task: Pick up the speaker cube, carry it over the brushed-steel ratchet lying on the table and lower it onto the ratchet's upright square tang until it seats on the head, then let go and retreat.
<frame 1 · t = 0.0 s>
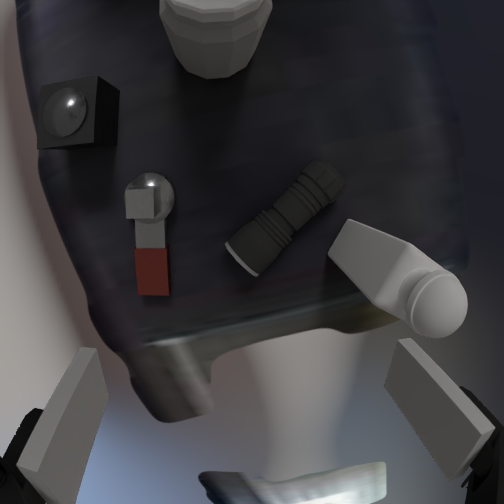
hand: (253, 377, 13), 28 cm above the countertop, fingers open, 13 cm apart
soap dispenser: (352, 245, 42), on the countertop
jar: (214, 46, 33), on the countertop
speaker cube: (92, 119, 33), on the countertop
flashlight: (281, 213, 40), on the countertop
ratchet: (151, 196, 37), on the countertop
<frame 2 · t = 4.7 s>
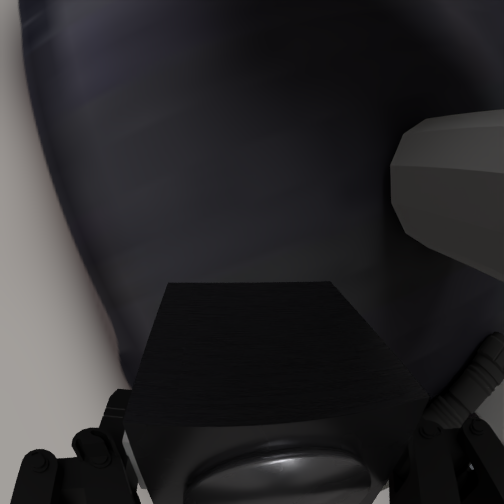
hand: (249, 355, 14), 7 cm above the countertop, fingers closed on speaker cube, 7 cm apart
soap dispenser: (490, 393, 30), on the countertop
jar: (431, 182, 21), on the countertop
speaker cube: (248, 352, 14), point 7 cm above the countertop, touching gripper
flashlight: (448, 386, 28), on the countertop
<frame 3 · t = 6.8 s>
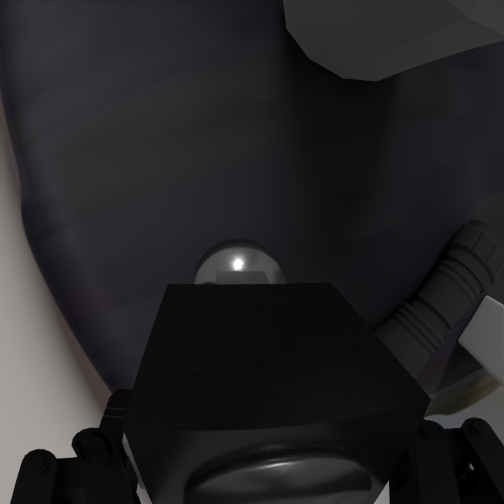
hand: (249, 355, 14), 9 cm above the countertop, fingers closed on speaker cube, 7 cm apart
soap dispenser: (480, 324, 27), on the countertop
jar: (344, 25, 18), on the countertop
speaker cube: (249, 353, 14), point 8 cm above the countertop, touching gripper
flashlight: (418, 296, 25), on the countertop
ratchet: (238, 281, 22), on the countertop
when the fingers open (2 cm above the countertop, at t = 9.2 s): speaker cube stays where it is, resting on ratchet.
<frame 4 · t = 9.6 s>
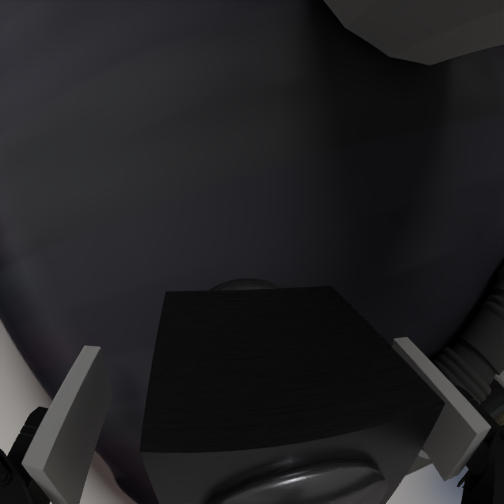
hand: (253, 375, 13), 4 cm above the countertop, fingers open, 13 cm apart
speaker cube: (249, 359, 14), point 2 cm above the countertop, touching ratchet
flashlight: (459, 334, 19), on the countertop
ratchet: (245, 333, 16), on the countertop
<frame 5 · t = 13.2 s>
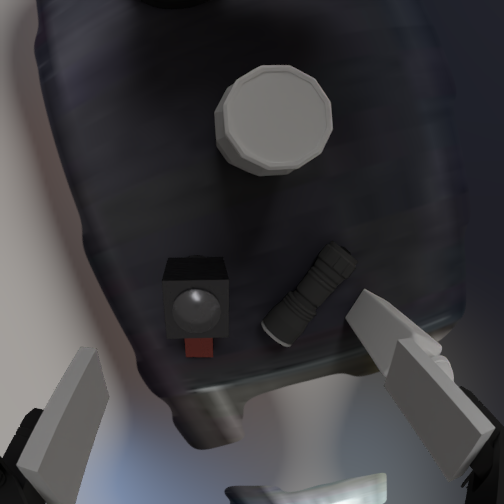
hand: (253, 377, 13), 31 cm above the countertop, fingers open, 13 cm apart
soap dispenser: (366, 309, 48), on the countertop
jar: (252, 134, 39), on the countertop
speaker cube: (196, 283, 41), point 2 cm above the countertop, touching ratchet
flashlight: (304, 287, 46), on the countertop
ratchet: (197, 276, 43), on the countertop
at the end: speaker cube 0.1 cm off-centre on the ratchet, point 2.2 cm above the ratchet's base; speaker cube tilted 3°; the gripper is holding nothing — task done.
